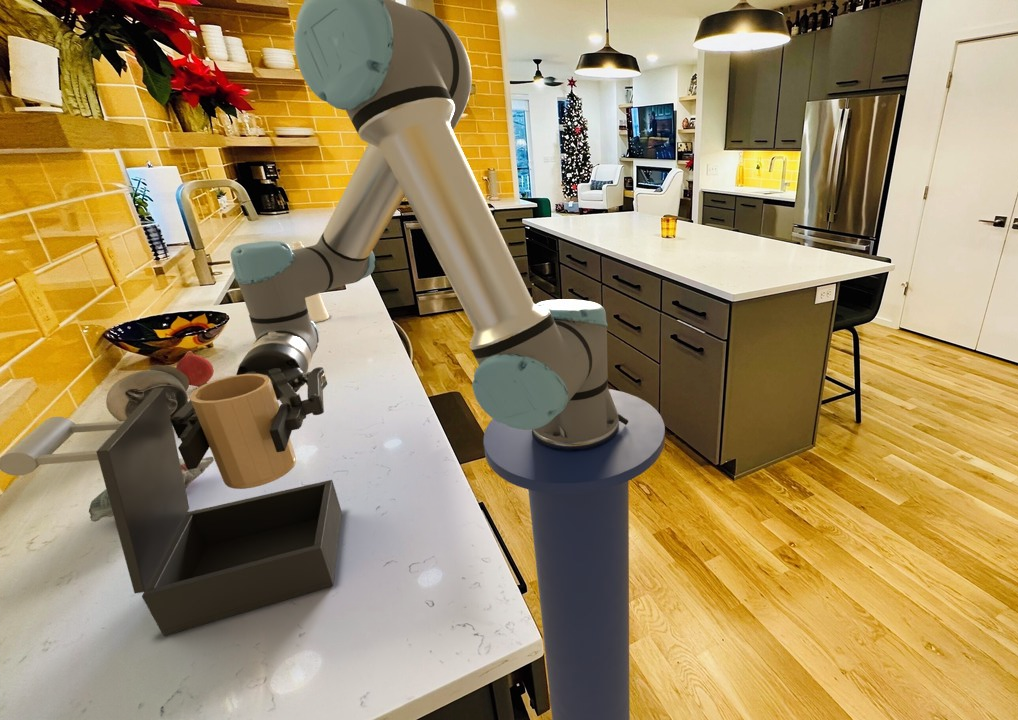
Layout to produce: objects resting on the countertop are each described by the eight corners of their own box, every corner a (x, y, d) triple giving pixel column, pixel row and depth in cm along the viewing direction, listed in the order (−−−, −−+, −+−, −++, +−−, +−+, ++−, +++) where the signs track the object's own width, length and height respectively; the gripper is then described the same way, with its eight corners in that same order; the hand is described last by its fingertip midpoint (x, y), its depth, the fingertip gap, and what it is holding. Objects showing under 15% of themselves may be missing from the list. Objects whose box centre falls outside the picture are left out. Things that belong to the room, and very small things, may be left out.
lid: (164, 387, 56) (54, 391, 52) (107, 450, 44) (-39, 461, 40) (189, 508, 61) (91, 520, 57) (144, 592, 50) (19, 614, 46)
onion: (184, 395, 101) (169, 359, 98) (182, 386, 105) (168, 351, 102) (220, 387, 105) (207, 352, 101) (217, 378, 108) (204, 344, 105)
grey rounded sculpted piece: (208, 403, 98) (189, 354, 94) (181, 434, 88) (158, 381, 84) (144, 411, 95) (122, 362, 91) (108, 444, 85) (81, 390, 81)
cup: (300, 448, 63) (275, 369, 59) (291, 479, 57) (262, 394, 53) (233, 461, 61) (201, 380, 56) (216, 495, 55) (179, 408, 50)
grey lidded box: (342, 513, 70) (332, 479, 67) (333, 585, 58) (320, 548, 56) (203, 548, 64) (186, 512, 61) (163, 636, 52) (141, 596, 50)
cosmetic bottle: (333, 315, 147) (314, 240, 139) (322, 322, 142) (302, 244, 133) (311, 315, 147) (291, 240, 138) (300, 322, 141) (278, 244, 133)
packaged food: (219, 472, 78) (207, 445, 76) (163, 525, 67) (148, 496, 65) (157, 476, 77) (144, 450, 75) (91, 531, 66) (73, 502, 64)
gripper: (178, 353, 66) (92, 440, 47) (348, 332, 74) (333, 399, 55) (198, 402, 69) (124, 503, 50) (360, 377, 77) (349, 456, 58)
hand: (233, 449), depth 52 cm, fingers closed on cup, 7 cm apart
